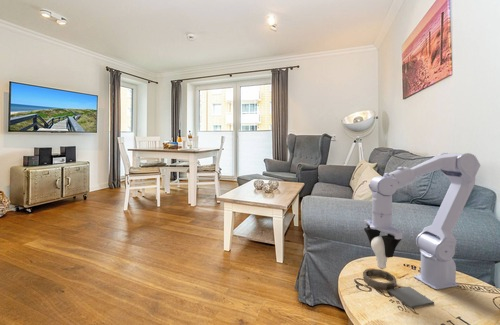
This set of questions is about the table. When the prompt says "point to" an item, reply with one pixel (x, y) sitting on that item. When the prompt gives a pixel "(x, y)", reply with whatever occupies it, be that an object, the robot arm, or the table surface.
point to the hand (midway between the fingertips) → (381, 252)
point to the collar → (379, 284)
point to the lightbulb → (379, 251)
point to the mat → (410, 297)
